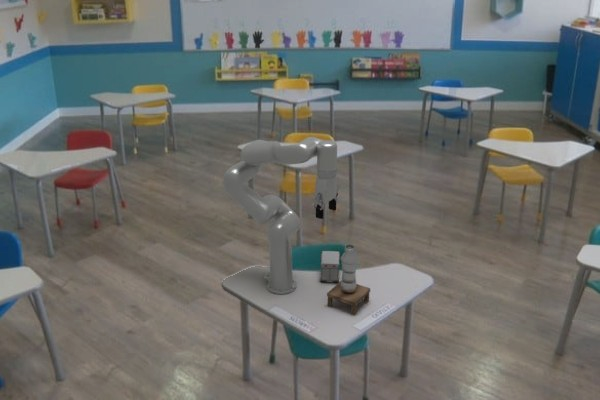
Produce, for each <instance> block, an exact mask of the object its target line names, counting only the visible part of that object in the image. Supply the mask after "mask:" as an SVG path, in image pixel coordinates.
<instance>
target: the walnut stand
mask: <svg viewBox="0 0 600 400" xmlns="http://www.w3.org/2000/svg"><path fill="white" fill-rule="evenodd" d="M340 284H341V280H339V282H337V284H336V285H335V286H334V287H332V288H331V289H330V290H329V291H328V292H327V293H326V297H327V306H328V307H330V308H331V307H332V306H333V305H334V303H333V300H336V301H339V302H342V303H345V304H347V305H351V311H350V312H351V313H350V315H352V316H356V315H357V310H358V309H357V305H358V304H359V303H361V301H363V302H365V303H368V302H370V292H371V288H370V287H367V286H365V285H361V284H358V283H356V284H357V287H356V290H355V291H354V292H352V293H346V292H344V291H343V290H342V289H341V285H340Z"/></svg>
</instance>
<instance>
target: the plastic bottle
mask: <svg viewBox="0 0 600 400" xmlns="http://www.w3.org/2000/svg"><path fill="white" fill-rule="evenodd" d="M340 260H341V262H340V263H341V269H342V270H341V272H342V273H341V280H340V281H341V284H340V285H341V289H342V290H343V291H344V292H346V293H352V292H354V291H355V290H356V287H357V284H358V283H357V278H356V277H357V275H356V271H357V265H358V257H357V255H356V253H355V246H354V245H353V244H346V245H345V246H344V252H343V254H342V255H341V259H340Z"/></svg>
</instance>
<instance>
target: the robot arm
mask: <svg viewBox="0 0 600 400" xmlns="http://www.w3.org/2000/svg"><path fill="white" fill-rule="evenodd" d="M315 157H316V179H315V183H314V185H315V186H314V199H313V202H312V203H313V206H314V208H315V218H317V219H320V220H324V206H325V204H327V203H328V210H330V211H333V212H334V211H336V210H337V200H338V195H339V194H338V193H339V190H340V188H339V187H338V181H337V180H338V179H337V177H338V176H337V175H338V174H337V173H338V171H337V170H338V169H337V168H338V167H337V166H338V144H337V142H336V141H333V140H330V139H328V140H327V139H326V140H325V139H321V138H319V137H315V136H308V137H306V138H304V139H303V140H301V141H300V142H298V143H295V144H288V145H282V144H281V143H280V142H278V141H277V140H275V141H274V140H273V141H272V140H271V141H266V140H263V139H256V140H254V141H252V142H249V143H247V144H246V145H245V146H243V148H242V149H241V151H240V159H241V160H240V161H239V162H238V163H236V164H234V165H232V166H231V167H229V168H228V169H227V170H226V171H225V172H224V175H223V177H222V185H223V189H224V190H225V192H226V194H228V195H229V197H230V198H232V199H233V200H235V202H236V203H237V204H238V205H240V206H241V207H242V208H243V209H244V210H245V212H246V213H248V215H249V216H250V217H251V218H253V220H255V221H256V223H259V224H260V225H264V224H266V223H269V222H270V221H271V220H273V219H274V221H273V222H271V224H270V225H268V228H267V230H266V235H267V236H266V237H267V242H268V248H269V251H268V252H269V272H268V271H265V272H264V276H263V279H265V280H268V281H267V283H266V289H267V290H268V292H271V293H272V294H276V295H286V294H287V295H288V294H289V293H292V292H293V291H294V290H296V288H297V283H296V281H295V280H294V279H293V248H292V244H291V238H292V237H293V236H294V235H295V234H296V232H298V230H300V228H301V219H300V217H299V216H298V214H296V212H295V211H294V210H293V209H292V208H291V207H290V206H289V205H288V204H287V203H286V202H285V201H284V200H283V199H281V198H280V197H279V196H277V195H275V194H267V195H265V196H263V197H262V196H261V195H260V194H259V193H258V192H257V191H256V190H254V189H253V188H252V187H249V186H247V185H245V183H247V182H249V181H250V180H251V179H253V178H255V177H256V176H257V175H258V173H259V171H260V170H261V169H262V167H263V166H264V165H268V164H276V163H277V164H280V165H284V166H285V165H288V166H289V165H300V164H305V163H307V162H309V160H311V159H313V158H315Z"/></svg>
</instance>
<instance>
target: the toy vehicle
mask: <svg viewBox="0 0 600 400" xmlns="http://www.w3.org/2000/svg"><path fill="white" fill-rule="evenodd" d="M341 257H342V255H341V256H340V251H336V250H334V251H333V250H322V252H321V255H320V260H321V262H320V266H321V271H320V272H321V275H320V282H321V283H324V282H325V283H327V282H328V283H339V282H340V277H339V273H340V260H341Z"/></svg>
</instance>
